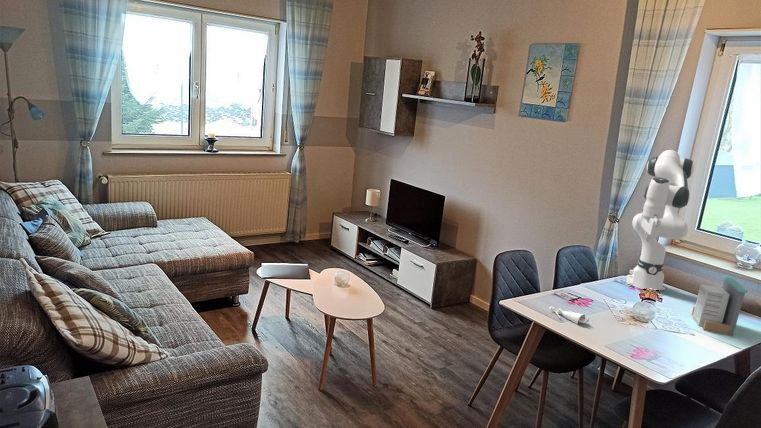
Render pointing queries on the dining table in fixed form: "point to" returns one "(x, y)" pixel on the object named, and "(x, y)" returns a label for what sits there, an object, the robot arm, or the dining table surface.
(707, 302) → the supplement box
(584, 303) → the dining table surface
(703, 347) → the dining table surface
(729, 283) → the display stand
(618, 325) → the dining table surface
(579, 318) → the woman figurine
